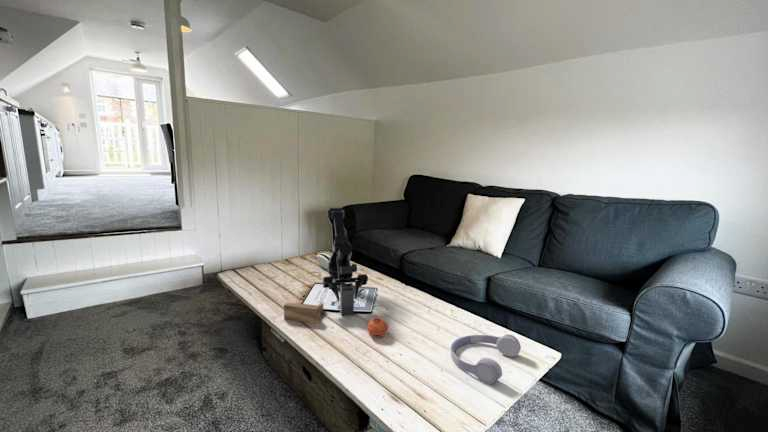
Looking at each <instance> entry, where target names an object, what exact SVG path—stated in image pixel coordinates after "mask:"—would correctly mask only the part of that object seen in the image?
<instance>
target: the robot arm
mask: <svg viewBox="0 0 768 432" xmlns="http://www.w3.org/2000/svg"><path fill="white" fill-rule="evenodd" d="M326 217H327V219H328V220H327V221H328V222H329V224H330V225H331V250H332V251H331V253H332V254H331V255H330V262H329V263H328V270H327V273H328V275H329V276H324V277H323V280H322V288H323V289H326V288H327V289H328V290H331V291H332V293H333V294H334V295H335V298H336V300H337V301H338V302H340V295H339V293H340V292H339V289H338V287H337V285H340V284H346V283H354V300H357V298H358V293H359V288H361V287H362V286H365V285H367V284H368V281H369V277H368V274H367V273H363V274H358V275H357V277H353V275H354V273H357V272H358V265H357V263H353V264H351V261H350V259H351V257H352V255H353V254H352V253H353V246H352V244H351V243H350V241H349V237H348V236H346V233H345V227H344V225H345V224H344V218H345V209H342V207H329V208H328V209H326Z"/></svg>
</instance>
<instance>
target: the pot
mask: <svg viewBox="0 0 768 432" xmlns="http://www.w3.org/2000/svg"><path fill="white" fill-rule="evenodd" d="M366 329H367V331H368V333H369V334H368V335H370V336H372V334H373V335H375V336H378V335H380V337H381V338H382V339H383V338H384V337H385V333H386V332H387V331H388V329H389V324H388V323H387V321H386V320H385V319H383V318H382V317H374V318H373V319H371V320H370V321H369V322H368V323H367V325H366Z"/></svg>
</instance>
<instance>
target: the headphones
mask: <svg viewBox="0 0 768 432" xmlns="http://www.w3.org/2000/svg"><path fill="white" fill-rule="evenodd" d="M474 343H475V344H477V343H479V344H480V343H486V344H493V345H496V350H498V351H499V353H501V354H503V355H504V356H506V357H510V358H513V357H516V356H518V355H519V354H520V352H521V350H522V349H521V348H522V346H521V343H520V341H519V340H518V338H517V337H516V336H514V335H512V334H508V333H507V334H504V335H503V336H495V335H488V334H471V335H465V336H461V337H460V338H456V340H454V341H453V342H452V343H451V346H450V356H451V360H452V362H453V363H454V365H456V366H457V367H458V368H460V369H461V370H463V371H465V372H466V373H469V374H471V375H474V376H475V377H476V378H477V379H478V380H479V381H480V382H482V381H483V383H485V384H486V385H491V384H494V383H495V382H496V381H498V380H500V378H501V377H503V370H502V366H501V365H500V364H499V362H497V361H496V360H494V359H493V358H490V357H481V358H480V359H479V360H478V362H476V364H472V363H468V362H466V361H465V360H462V359H460V358H459V357H458V356H457V355H456V354H455V353H456V350H457V349H458V348H460V347H462V346H464V345H468V344H474Z"/></svg>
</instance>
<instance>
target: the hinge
mask: <svg viewBox="0 0 768 432" xmlns="http://www.w3.org/2000/svg"><path fill="white" fill-rule="evenodd" d="M330 257H331V255H329V254H327V253H325V252H322V253H321V252H320V253H319V254H317V255H316V257H315V258H316V260H317V263H318V266H319V267H321V268H322V269H325V270H326V271H328V263H329V262H330Z"/></svg>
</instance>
